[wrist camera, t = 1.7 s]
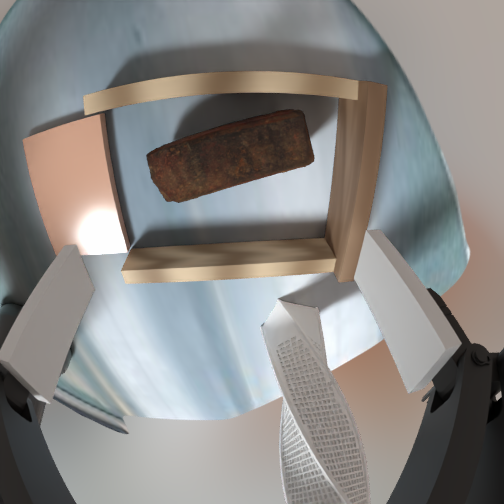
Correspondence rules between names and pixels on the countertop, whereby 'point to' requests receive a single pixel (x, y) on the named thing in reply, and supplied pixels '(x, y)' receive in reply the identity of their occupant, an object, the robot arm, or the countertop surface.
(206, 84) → the channel
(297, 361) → the skyscraper
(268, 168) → the brick
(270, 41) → the countertop surface
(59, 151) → the tile
